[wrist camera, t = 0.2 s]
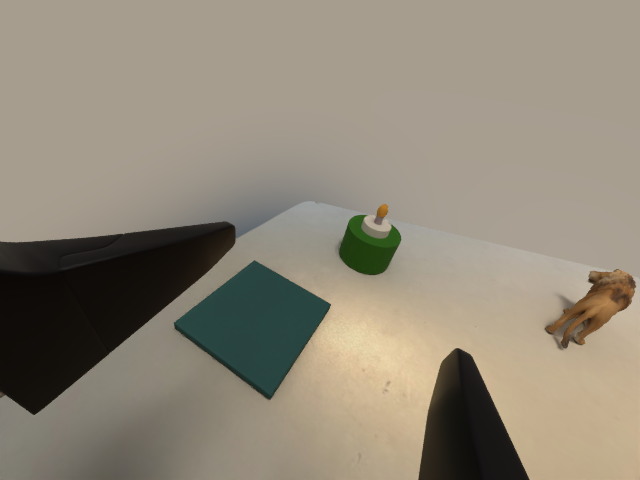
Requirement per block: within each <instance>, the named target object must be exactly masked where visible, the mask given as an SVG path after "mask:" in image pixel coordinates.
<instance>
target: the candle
mask: <svg viewBox="0 0 640 480" xmlns="http://www.w3.org/2000/svg"><path fill="white" fill-rule="evenodd" d="M387 212H388V206H387V205H386V204H383V205H381V206H380V208H379V209H378V210H377V216H375V215H358V216H354V217H352V218H351V219H350V220H349V223H348V226H347V229H346V232H345V235H344V238H343V241H342V244H341V247H340V256H341V258H342V260H343V261H344V262H345V264H346V265H348V266H349V267H350V268H352V269H353V270H355V271H358V272H360V273H363V274H368V275H376V274H380V273H383V272H384V271H385V270H386V269H387V267H388V265H389V263H390V261H391V259H392V257H393V255H394V253H395V251H396V250H397V248H398V246H399V244H400V242H401V235H400V233H399V232H398V230H397V229H396V228H395V227H394V226H393V225H391V224H390V223H389V222H388V221H387V220H385V219H384V217H385V216H386V215H387Z"/></svg>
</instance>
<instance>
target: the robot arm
mask: <svg viewBox="0 0 640 480" xmlns="http://www.w3.org/2000/svg"><path fill="white" fill-rule="evenodd" d="M234 244H235V226H234V225H232V224H230V223H228V222H217V223H209V224H201V225H192V226H183V227H175V228H167V229H159V230H150V231H142V232H133V233H125V234H117V235H108V236H98V237H88V238H77V239H62V240H49V241H34V242H17V243H15V242H0V398H1V397H3V396H5V395H7V396H8V397H9V398H11V399H12V400H13V401H15V402H16V403H18V404H19V405H20V406H22V407H23V408H25V409H26V410H27V411H29V412H30V413H32V414H33V415H35V414H36V413H38V412H39V411H41V410H42V409H43V408H45V407H46V406H47V405H48V404H49V403H51V402H52V401H53V400H54V399H55V398H57V397H58V396H59V395H60V394H61V393H63V392H64V391H65V390H66V389H67V388H69V387H70V386H71V385H72V384H73V383H75V382H76V381H77V380H78V379H79V378H81V377H82V376H83V375H84V374H86V373H87V372H88V371H89V370H90V369H92V368H93V367H94V366H95V365H96V364H98V363H99V362H100V361H101V360H102V359H104V358H105V357H106V356H107V355H108V354H109V353H110V352H112V351H113V350H114V349H115V348H117V347H118V346H119V345H120V344H121V343H123V342H124V341H125V340H126V339H128V338H129V337H130V336H131V335H132V334H134V333H135V332H136V331H137V330H138V329H140V328H141V327H142V326H143V325H144V324H146V323H147V322H148V321H149V320H150V319H152V318H153V317H154V316H155V315H156V314H158V313H159V312H160V311H161V310H162V309H164V308H165V307H166V306H167V305H168V304H170V303H171V302H172V301H173V300H175V299H176V298H177V297H178V296H179V295H181V294H182V293H183V292H184V291H185V290H187V289H188V288H189V287H190V286H191V285H193V284H194V283H195V282H196V281H197V280H199V279H200V278H201V277H202V276H203V275H205V274H206V273H207V272H208V271H209V270H210V269H211V268H212V267H213V266H214V265H215V264H216V263H217V262H218V261H219V260H220V259H221V258H222V257H223V256H224V255H225V254H226V253H227V252H228V251H229V250H230V249H231V248H232V247H233V246H234ZM418 480H529V478H528V475H527V473H526V471H525V469H524V467H523V465H522V463H521V460H520V458H519V456H518V454H517V452H516V450H515V448H514V445H513V443H512V441H511V439H510V437H509V435H508V433H507V430H506V428H505V426H504V424H503V422H502V420H501V417H500V415H499V413H498V411H497V409H496V407H495V405H494V402H493V400H492V398H491V396H490V394H489V392H488V390H487V387H486V385H485V383H484V381H483V379H482V377H481V375H480V372H479V370H478V368H477V366H476V364H475V362H474V359H473V357H472V356H471V355H470V354H469V353H467V352H465V351H463V350H461V349H459V348H456V349H454V350H453V351H452V352H451V353H450V354H449V355H448V356H447V357H446V358H445V359H444V360H443V361H442V363H441V366H440V369H439V373H438V376H437V380H436V384H435V387H434V391H433V395H432V399H431V402H430V406H429V410H428V416H427V422H426V429H425V436H424V443H423V450H422V458H421V465H420V472H419V479H418Z"/></svg>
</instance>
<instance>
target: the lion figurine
mask: <svg viewBox="0 0 640 480" xmlns="http://www.w3.org/2000/svg"><path fill="white" fill-rule="evenodd" d="M588 282H589V283H592V284H594V285H593V286H592V287H591V288H590V289H591V290H589V292H588V293H587V295H586V296H585V297H584V298H583V299H581V300H579V301H578V302H577V303H576V304H575V306H574V307H572V308H571V309H564V312H565V314H564V315H563V316H562V317H561V318H560V319H559V320H557V321H556V322H555V323H554V324H553V325H552V326H547V327H546V330H548V331H549V332H550V333H553V334H554V333H556V332H557V330H558V329H559V328H561V327H562V326H563V325H564V324H565V323H566V322H567V321H568V320H570V319H573V318H577V317H578V318H577V319H576V320H575V321H574V322H573V323H572V324H571V325H570V326H569V327H568V328H567V330H566V331H565V333H564V337H563V340H562V341H561V345H562V347H563V348H567V347H568V343H569V335H570V333H571V332H572V331H573V329H574V328H575V327H577V326H578V325H579V324H580V323H581V322H583V321H584V324H585V326H584V329H583V330H582V331H580V332H578V333H577V335H576V336H575V337H574V340H575V341H576V342H578V343H579V344H585V340H584V338H585V337H586V336H587V335H588V334H590V333H592V332H594V331H596V330H597V329H599V328H600V327H602V326H603V324H605V323H606V322H608V321H609V320H610V318H611V317H612V316H613V315H615V314H616V313H617V312H619V311H622V310H624V309H626V308H627V307H628V306H629V304H631V302H632V300H631V298H632V297H633V295H634V293H635V290H634V288H636V285H635V281H634V280H633V277H632V276H631V275H629V274H628V273H626V272H623V271H621V270H619V269H616V270H615V271H613V272H596V271H590V274H589V279H588Z"/></svg>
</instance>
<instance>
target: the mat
mask: <svg viewBox="0 0 640 480" xmlns="http://www.w3.org/2000/svg"><path fill="white" fill-rule="evenodd" d="M330 306H331V304H329V303H328V302H326V301H324V300H323V299H321V298H319V297H317V296H316V295H314V294H312V293H310V292H309V291H307V290H305V289H303V288H302V287H300V286H298V285H296V284H295V283H293V282H291V281H289V280H288V279H286V278H284V277H282V276H281V275H279V274H277V273H276V272H274V271H272V270H270V269H269V268H267V267H265V266H263V265H262V264H260V263H258V262H256V261H253V262H252V263H251V264H249V265H248V266H247V267H245V268H244V269H243V270H242V271H240V272H239V273H238V274H236V275H235V276H234V277H232V278H231V279H230V280H229V281H227V282H226V283H225V284H223V285H222V286H221V287H220V288H218V289H217V290H216V291H214V292H213V293H212V294H211V295H209V296H208V297H207V298H205V299H204V300H203V301H201V302H200V303H199V304H198V305H196V306H195V307H194V308H192V309H191V310H190V311H189V312H187V313H186V314H185V315H183V316H182V317H181V318H180V319H178V320H177V321H176V322H174V325H175V329H177V330H178V331H179V332H181V333H182V334H183V335H185V336H186V337H187V338H189V339H190V340H191V341H193V342H194V343H195V344H197V345H198V346H199V347H201V348H202V349H203V350H204V351H206V352H207V353H208V354H210V355H211V356H212V357H214V358H215V359H216V360H218V361H219V362H220V363H222V364H223V365H224V366H226V367H227V368H228V369H230V370H231V371H232V372H234V373H235V374H236V375H238V376H239V377H240V378H241V379H243V380H244V381H245V382H247V383H248V384H249V385H251V386H252V387H253V388H255V389H256V390H257V391H259V392H260V393H261V394H263V395H264V396H265V397H267V398H268V399H269V400H270V399H271V398H272V396H273V395H274V393H275V391H276V390H277V388H278V387H279V385H280V384H281V382H282V381H283V379H284V378H285V376H286V375H287V373H288V372H289V370H290V369H291V367H292V365H293V364H294V362H295V361H296V359H297V358H298V356H299V355H300V353H301V352H302V350H303V349H304V347H305V346H306V344H307V342H308V341H309V339H310V338H311V336H312V335H313V333H314V332H315V330H316V329H317V327H318V326H319V324H320V323H321V321H322V319H323V318H324V316H325V315H326V313H327V312H328V310H329V308H330Z"/></svg>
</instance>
